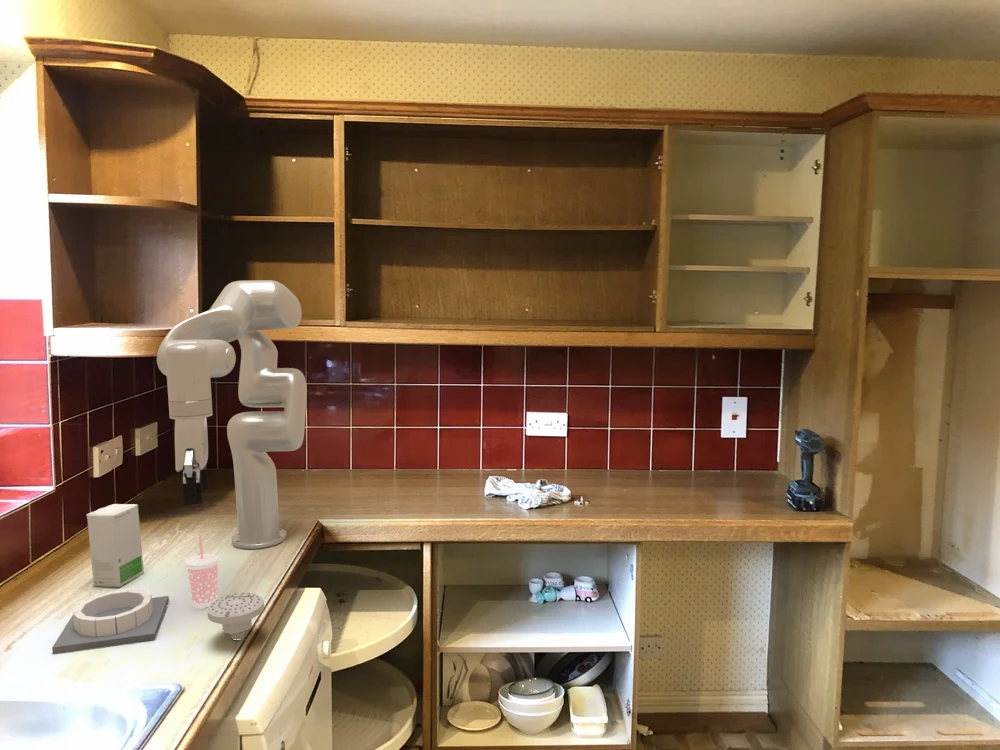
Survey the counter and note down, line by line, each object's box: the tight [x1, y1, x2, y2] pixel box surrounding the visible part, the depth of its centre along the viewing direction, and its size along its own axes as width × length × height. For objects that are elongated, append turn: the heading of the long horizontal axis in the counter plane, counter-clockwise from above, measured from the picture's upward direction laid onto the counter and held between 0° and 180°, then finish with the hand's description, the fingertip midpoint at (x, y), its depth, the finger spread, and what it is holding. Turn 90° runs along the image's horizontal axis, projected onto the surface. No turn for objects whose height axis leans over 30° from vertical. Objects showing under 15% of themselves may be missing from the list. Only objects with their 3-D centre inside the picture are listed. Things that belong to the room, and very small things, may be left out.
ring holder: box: [51, 588, 170, 655], centre depth 133 cm, size 16×16×4 cm
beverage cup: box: [184, 533, 220, 609], centre depth 142 cm, size 6×6×14 cm
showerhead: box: [206, 592, 265, 640], centre depth 128 cm, size 9×7×10 cm
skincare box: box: [86, 503, 145, 588], centre depth 153 cm, size 8×7×16 cm
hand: (196, 496), depth 139 cm, fingers open, 9 cm apart
